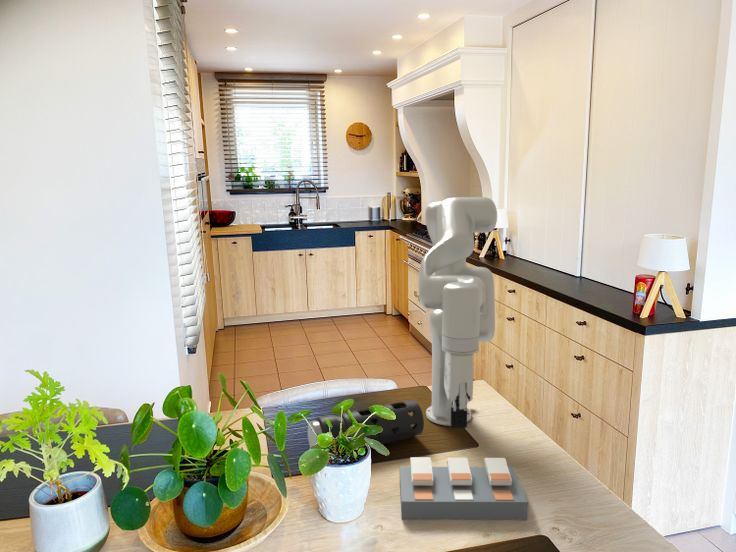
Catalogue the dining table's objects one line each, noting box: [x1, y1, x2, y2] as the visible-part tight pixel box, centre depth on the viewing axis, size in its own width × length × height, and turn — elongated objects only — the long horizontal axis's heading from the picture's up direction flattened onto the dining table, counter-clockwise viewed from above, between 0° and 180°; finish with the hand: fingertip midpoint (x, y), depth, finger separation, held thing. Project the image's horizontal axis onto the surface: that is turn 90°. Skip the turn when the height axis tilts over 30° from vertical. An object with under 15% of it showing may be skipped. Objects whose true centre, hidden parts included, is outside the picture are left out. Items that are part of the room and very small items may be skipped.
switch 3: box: [483, 457, 512, 485], centre depth 119 cm, size 7×4×3 cm, turn 178°
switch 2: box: [446, 457, 472, 485], centre depth 119 cm, size 7×4×3 cm, turn 178°
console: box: [399, 466, 529, 521], centre depth 118 cm, size 13×25×4 cm, turn 89°
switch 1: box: [409, 456, 433, 486], centre depth 119 cm, size 7×4×3 cm, turn 178°
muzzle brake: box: [307, 399, 425, 449], centre depth 140 cm, size 10×28×10 cm, turn 113°
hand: (458, 426), depth 118 cm, fingers closed
